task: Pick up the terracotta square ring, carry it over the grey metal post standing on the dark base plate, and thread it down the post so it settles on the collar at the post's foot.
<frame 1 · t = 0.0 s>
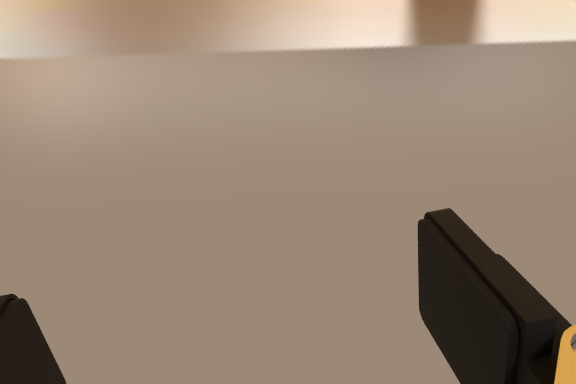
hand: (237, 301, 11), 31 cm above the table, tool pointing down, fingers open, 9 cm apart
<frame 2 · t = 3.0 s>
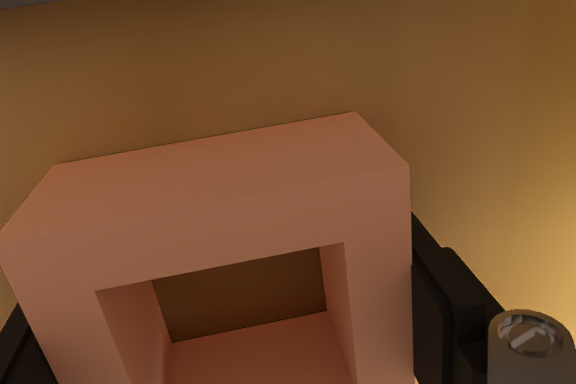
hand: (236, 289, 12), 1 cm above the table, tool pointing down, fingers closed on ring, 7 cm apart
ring: (235, 262, 13), on the table, touching gripper
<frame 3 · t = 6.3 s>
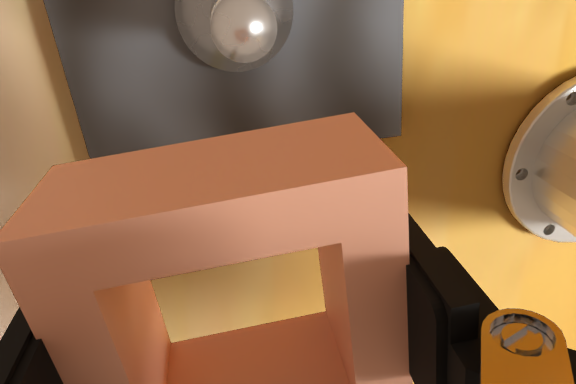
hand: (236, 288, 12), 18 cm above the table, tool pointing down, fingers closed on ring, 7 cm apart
metal post: (238, 18, 21), on the base plate, point 6 cm above the table
base plate: (232, 8, 25), on the table
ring: (234, 262, 13), point 17 cm above the table, touching gripper
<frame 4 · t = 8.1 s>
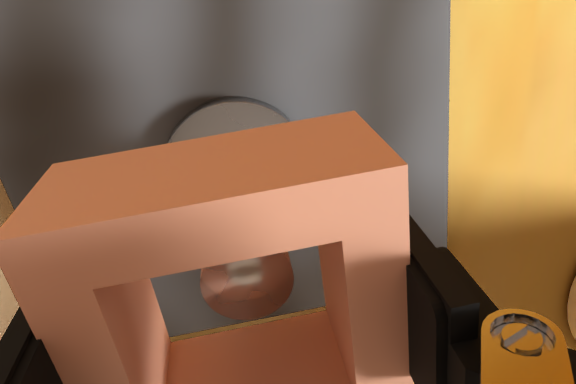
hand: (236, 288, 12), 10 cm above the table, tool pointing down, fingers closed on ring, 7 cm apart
metal post: (241, 211, 16), on the base plate, point 6 cm above the table
base plate: (235, 153, 21), on the table
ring: (234, 261, 13), point 9 cm above the table, touching gripper
when the fingers open (6 cm above the table, at t = 9.4 s): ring drops 3 cm, resting on metal post.
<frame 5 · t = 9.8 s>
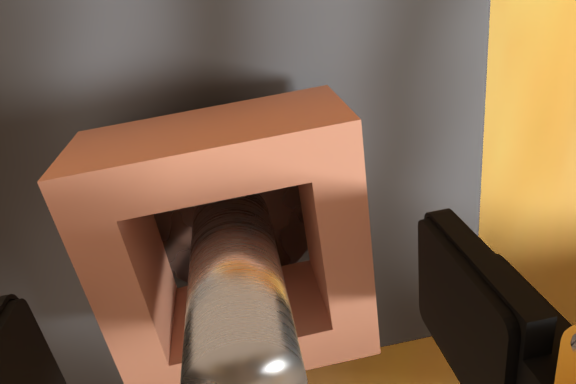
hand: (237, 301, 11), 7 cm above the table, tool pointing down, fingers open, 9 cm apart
metal post: (235, 270, 12), on the base plate, point 6 cm above the table
base plate: (228, 184, 17), on the table
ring: (230, 216, 15), point 2 cm above the table, touching metal post
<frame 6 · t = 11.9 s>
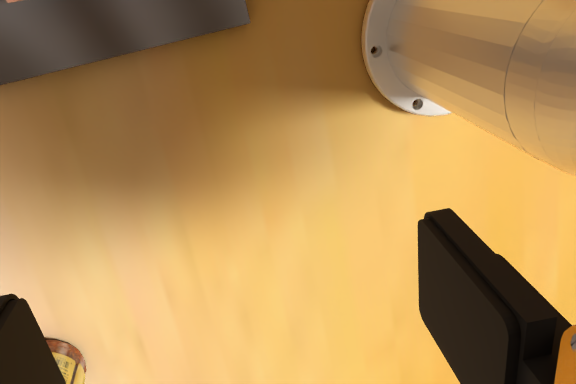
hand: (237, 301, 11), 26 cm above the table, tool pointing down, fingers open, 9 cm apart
sauce bottle: (53, 362, 42), on the table
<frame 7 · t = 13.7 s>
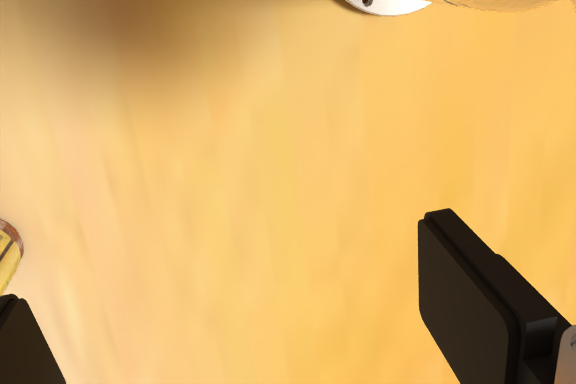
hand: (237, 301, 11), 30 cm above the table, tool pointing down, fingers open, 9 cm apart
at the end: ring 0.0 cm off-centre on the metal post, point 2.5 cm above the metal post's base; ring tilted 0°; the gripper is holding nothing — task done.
